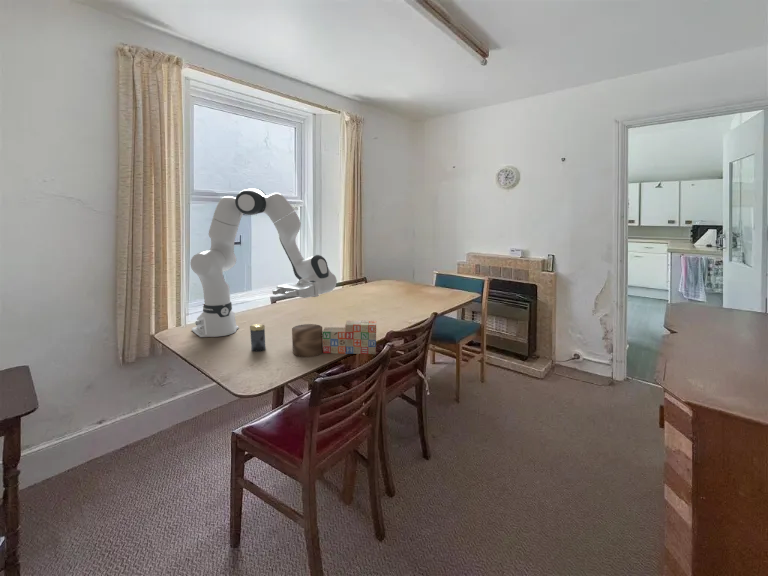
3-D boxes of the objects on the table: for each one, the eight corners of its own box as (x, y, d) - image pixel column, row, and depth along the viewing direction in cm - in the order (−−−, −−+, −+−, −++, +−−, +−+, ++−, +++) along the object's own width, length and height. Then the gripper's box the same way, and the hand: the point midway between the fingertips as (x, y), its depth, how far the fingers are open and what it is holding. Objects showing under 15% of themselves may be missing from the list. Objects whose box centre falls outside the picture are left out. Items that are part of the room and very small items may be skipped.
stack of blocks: (322, 353, 154) (322, 324, 151) (325, 348, 160) (324, 319, 158) (376, 354, 154) (376, 324, 151) (376, 348, 160) (376, 320, 158)
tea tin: (248, 349, 157) (247, 326, 156) (260, 346, 162) (259, 323, 160) (256, 352, 154) (255, 328, 152) (268, 349, 158) (267, 325, 156)
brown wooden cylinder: (286, 352, 154) (285, 328, 153) (309, 345, 164) (308, 322, 162) (306, 359, 147) (305, 334, 145) (329, 351, 156) (328, 327, 155)
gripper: (291, 279, 179) (265, 284, 169) (319, 282, 165) (292, 288, 155) (293, 292, 180) (267, 298, 170) (321, 296, 166) (294, 303, 156)
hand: (279, 293), depth 162 cm, fingers open, 8 cm apart
